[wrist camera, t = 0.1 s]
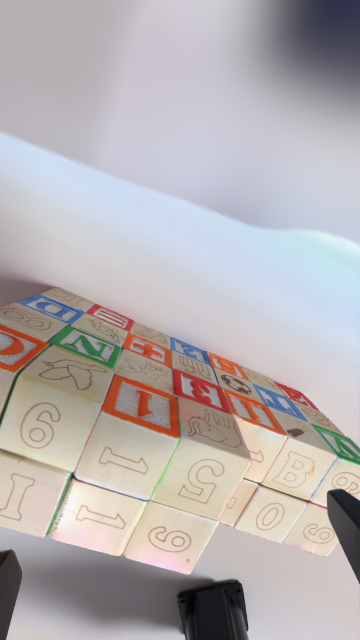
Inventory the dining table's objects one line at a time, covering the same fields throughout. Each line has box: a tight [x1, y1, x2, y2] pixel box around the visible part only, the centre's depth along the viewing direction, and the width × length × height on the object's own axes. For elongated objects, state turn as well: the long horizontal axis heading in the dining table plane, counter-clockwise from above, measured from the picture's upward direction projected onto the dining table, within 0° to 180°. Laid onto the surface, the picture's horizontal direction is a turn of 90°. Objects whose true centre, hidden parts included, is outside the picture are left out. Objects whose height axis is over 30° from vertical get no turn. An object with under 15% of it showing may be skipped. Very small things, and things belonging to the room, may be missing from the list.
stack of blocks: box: [0, 287, 360, 574], centre depth 17 cm, size 21×6×12 cm, turn 65°
